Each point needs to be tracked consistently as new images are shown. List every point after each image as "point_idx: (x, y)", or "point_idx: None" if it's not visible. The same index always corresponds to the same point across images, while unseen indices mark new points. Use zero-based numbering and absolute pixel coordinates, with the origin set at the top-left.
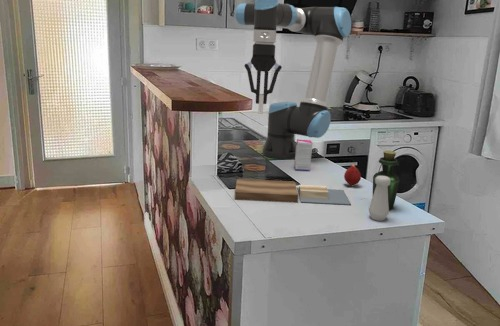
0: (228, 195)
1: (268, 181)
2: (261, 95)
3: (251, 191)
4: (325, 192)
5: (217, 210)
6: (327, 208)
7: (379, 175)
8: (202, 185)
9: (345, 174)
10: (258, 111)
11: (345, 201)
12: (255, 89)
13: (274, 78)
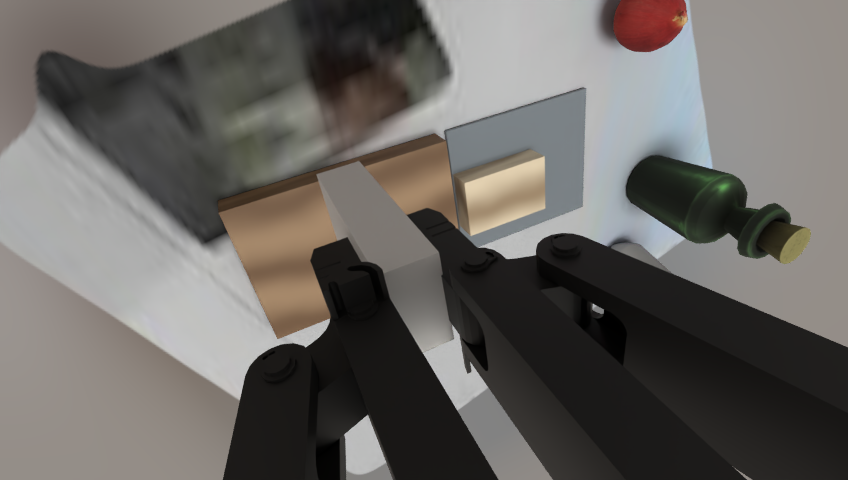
0: (238, 304)
1: None
2: (424, 346)
3: (325, 308)
4: (536, 210)
5: None
6: (523, 253)
7: (703, 233)
8: (74, 264)
9: (629, 34)
10: (336, 231)
11: (572, 193)
12: (348, 401)
13: (782, 471)
